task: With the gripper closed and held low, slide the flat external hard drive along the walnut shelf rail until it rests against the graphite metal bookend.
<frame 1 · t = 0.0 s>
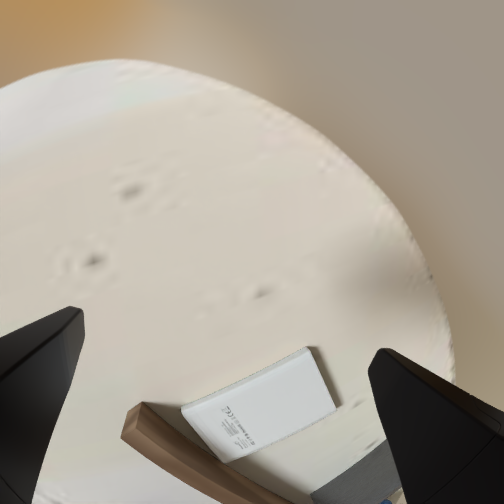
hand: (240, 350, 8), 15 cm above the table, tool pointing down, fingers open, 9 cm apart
shelf rail: (242, 483, 26), on the table
external hard drive: (260, 405, 26), on the table
bookend: (350, 469, 29), on the table
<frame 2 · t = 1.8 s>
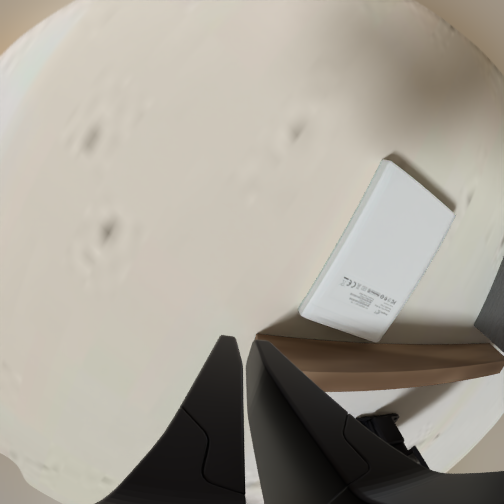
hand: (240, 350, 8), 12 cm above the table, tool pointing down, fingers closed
shelf rail: (407, 352, 26), on the table
external hard drive: (377, 255, 22), on the table
bookend: (497, 277, 25), on the table
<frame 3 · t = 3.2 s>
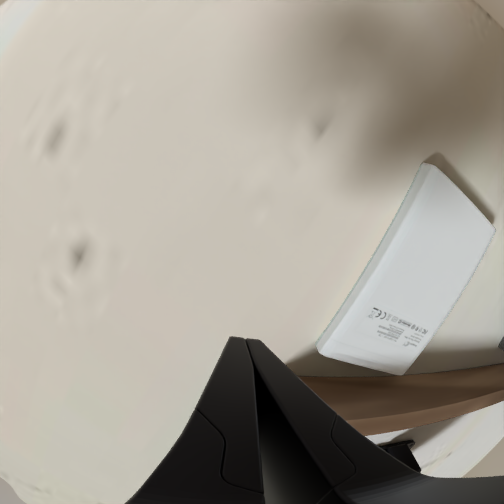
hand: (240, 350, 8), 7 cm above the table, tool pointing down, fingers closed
shelf rail: (430, 381, 21), on the table
external hard drive: (409, 277, 18), on the table
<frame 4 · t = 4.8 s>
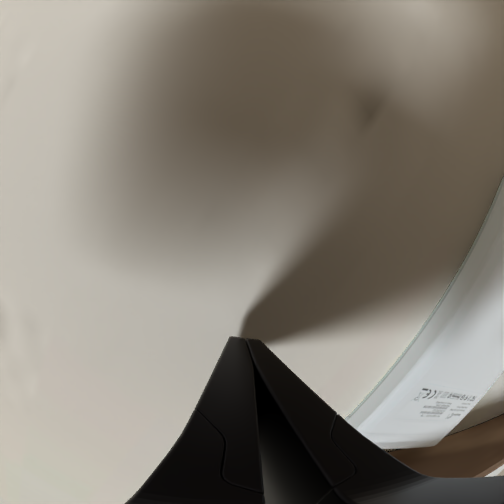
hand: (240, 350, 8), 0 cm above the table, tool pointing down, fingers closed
shelf rail: (461, 437, 15), on the table
external hard drive: (464, 333, 11), on the table
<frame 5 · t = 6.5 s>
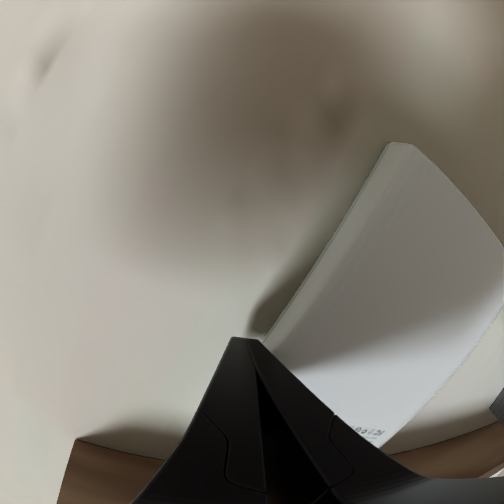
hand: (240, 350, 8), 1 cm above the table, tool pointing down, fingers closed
shelf rail: (369, 466, 13), on the table
external hard drive: (360, 352, 10), on the table, touching gripper
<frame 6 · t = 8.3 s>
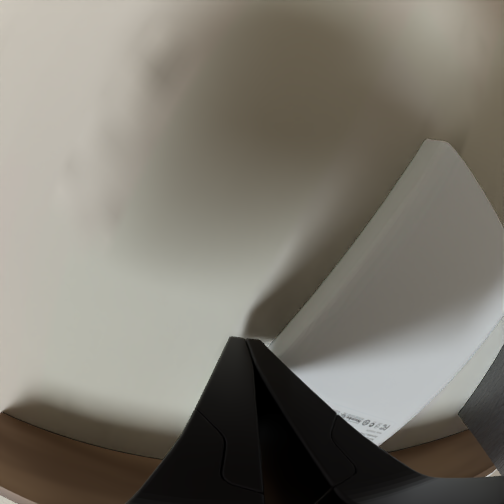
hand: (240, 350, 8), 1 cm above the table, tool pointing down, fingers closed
shelf rail: (304, 473, 12), on the table
external hard drive: (374, 343, 10), on the table
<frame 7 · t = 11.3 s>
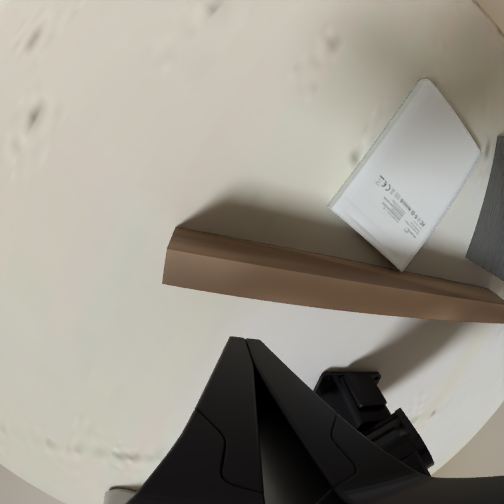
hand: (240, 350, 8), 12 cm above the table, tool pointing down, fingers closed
can: (129, 494, 32), on the table
shelf rail: (380, 279, 22), on the table
external hard drive: (408, 173, 20), on the table
bookend: (487, 197, 21), on the table
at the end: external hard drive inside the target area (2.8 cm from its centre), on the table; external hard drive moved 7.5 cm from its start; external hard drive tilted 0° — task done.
